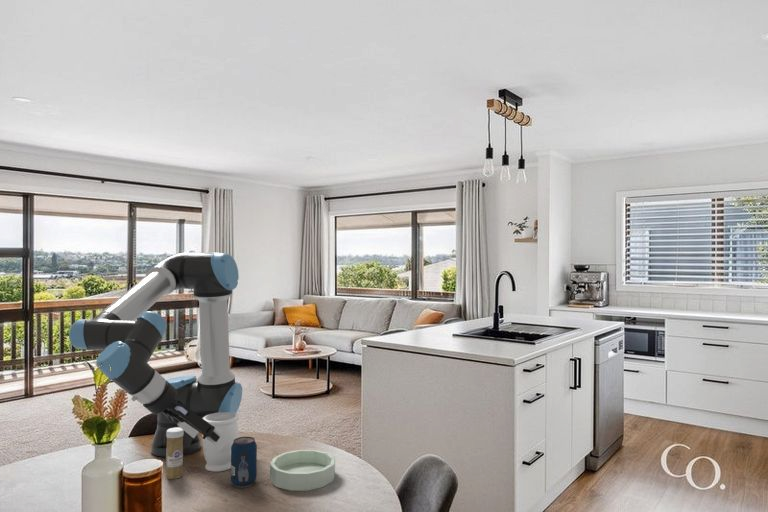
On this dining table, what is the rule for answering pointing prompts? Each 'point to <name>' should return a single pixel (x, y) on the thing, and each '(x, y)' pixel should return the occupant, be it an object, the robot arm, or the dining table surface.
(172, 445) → the sprinkles bottle
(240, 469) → the soda can
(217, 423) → the jar
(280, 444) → the dining table surface
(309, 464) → the bowl
